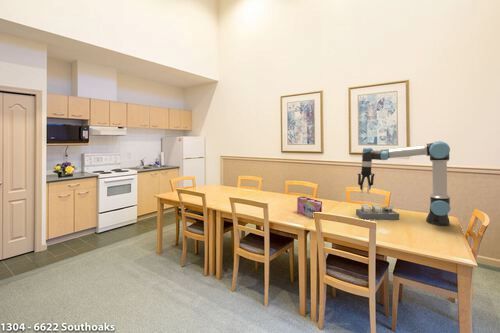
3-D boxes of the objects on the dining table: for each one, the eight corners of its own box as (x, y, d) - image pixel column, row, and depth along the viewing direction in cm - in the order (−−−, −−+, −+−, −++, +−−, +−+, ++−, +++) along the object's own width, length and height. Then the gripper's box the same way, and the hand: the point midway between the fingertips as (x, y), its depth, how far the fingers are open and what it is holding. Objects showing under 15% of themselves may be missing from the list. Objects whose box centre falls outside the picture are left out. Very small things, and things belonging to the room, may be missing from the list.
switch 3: (387, 209, 224) (387, 207, 224) (393, 209, 215) (392, 206, 216) (382, 209, 224) (381, 207, 224) (387, 208, 215) (386, 206, 216)
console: (390, 214, 226) (391, 205, 225) (399, 219, 213) (399, 210, 212) (355, 214, 227) (356, 205, 226) (362, 219, 213) (362, 210, 212)
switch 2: (377, 205, 224) (377, 203, 223) (381, 212, 216) (382, 210, 215) (371, 205, 225) (371, 203, 224) (375, 212, 217) (376, 210, 216)
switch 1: (366, 205, 225) (367, 203, 224) (370, 212, 217) (371, 210, 216) (360, 205, 225) (361, 203, 224) (364, 212, 217) (365, 210, 216)
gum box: (323, 217, 219) (323, 202, 217) (316, 219, 214) (317, 203, 213) (303, 210, 239) (303, 196, 237) (296, 212, 234) (297, 197, 233)
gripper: (375, 165, 223) (373, 192, 226) (354, 165, 223) (353, 192, 226) (379, 166, 215) (377, 194, 218) (357, 166, 216) (356, 194, 219)
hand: (365, 193), depth 222 cm, fingers open, 4 cm apart
